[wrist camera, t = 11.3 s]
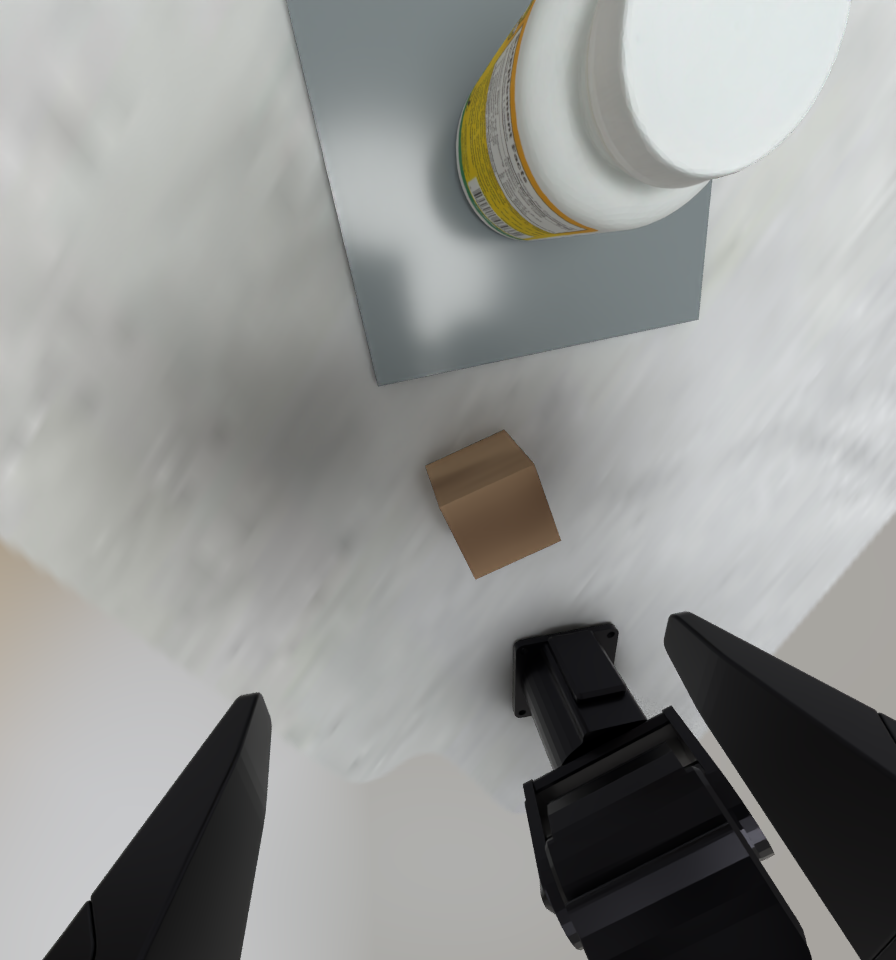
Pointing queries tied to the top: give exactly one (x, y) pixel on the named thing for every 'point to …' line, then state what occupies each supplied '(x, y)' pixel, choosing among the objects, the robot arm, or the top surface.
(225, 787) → the robot arm
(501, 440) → the walnut block
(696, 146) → the supplement bottle
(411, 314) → the coaster
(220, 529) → the top surface
